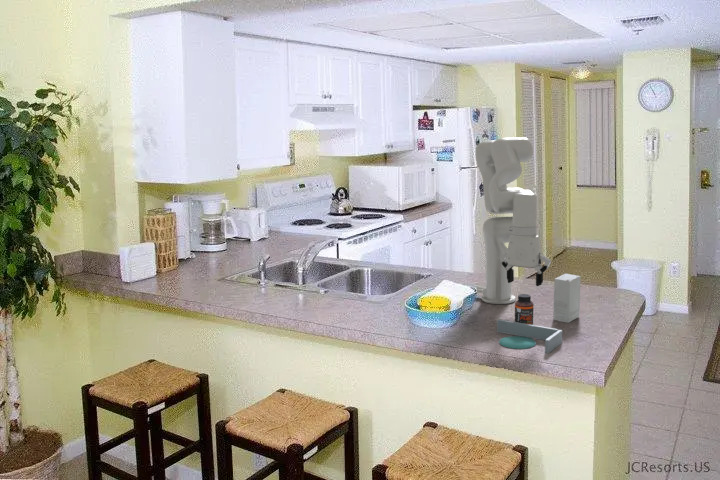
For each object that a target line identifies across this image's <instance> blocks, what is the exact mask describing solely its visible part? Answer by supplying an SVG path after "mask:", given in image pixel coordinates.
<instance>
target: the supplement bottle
mask: <svg viewBox="0 0 720 480" xmlns="http://www.w3.org/2000/svg"><path fill="white" fill-rule="evenodd" d="M531 299H532V298H531V295H530V294H528V293H520V294H518V295H517V301H516V300H515V301H514V302H515V303H514V322H518V323H524V324H530V325H534V302H533V301H532V300H531Z"/></svg>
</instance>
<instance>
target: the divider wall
mask: <svg viewBox="0 0 720 480" xmlns="http://www.w3.org/2000/svg"><path fill="white" fill-rule="evenodd" d="M496 332H497V333H501V334H508V335H512V336H521V337H527V338H531V339H535V340H542V341H544V353H545V354H550V353H551V352H552V351H553V350H555V349H556V348H558V346H560V345H561V344H562V343H563V329H558V328H555V327H549V326H541V325H535V324H533V325H530V324H524V323H518V322H515V321H510V320H505V319H497V320H496Z"/></svg>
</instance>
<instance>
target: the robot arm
mask: <svg viewBox="0 0 720 480" xmlns="http://www.w3.org/2000/svg"><path fill="white" fill-rule="evenodd" d="M533 155H534V147H533V143H532V141H531V140H530V139H529V138H528V137H524V136H521V137H520V136H518V137H502V138H498V139H494V140H493V139H492V140H491V139H490V140H485V141H481V142H479V143H477V145H476V148H475V159H476V165H477V167H478V170H479V172H480V175H481V178H482V186H483V197H484V206H485V209H486V212H488V214H494V215H506V214H508V215H509V214H512V216H495V217H493V216H492V217H489V218H488V219H486V220H485V221H484V223H483V225H482V232H483V239H484V248H485V287H483V286H476V293H479V294H482V295H481V301H482V302H484V303H487V304H491V305H492V304H493V305H508V304H512V303H514V302H516V298H517V297H516V296H515V295H513V294H512V283H513V282H514V281H515V278H514V277H515V275H514V274H515V270H514V267H516V268H526V269H527V268H528V269H534V270H535V271H536V273H535V286H536V287H540V286H541V285H542V284H543V283H544V273H545V271H546V270H548V269H549V267H550V265H551V263H552V260H551V259H550V258H549V257H548V256H547V257H546V255H543V254H542V247H541V239H540V236H539V234H538V196H537V194H536V193H534V192H533V191H532V190H530V189H524V188H522V187H508V186H507V185H508V184H510V183H513V182H514V181H517V179H518V178H520V176H521V175H522V172H523V168H522V165H521V163H525V162H526V163H527V162H529V161H530V160H531V159H532V157H533ZM506 244H508V246H506ZM542 262H544V265H543V266H542Z"/></svg>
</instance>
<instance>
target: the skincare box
mask: <svg viewBox="0 0 720 480" xmlns="http://www.w3.org/2000/svg"><path fill="white" fill-rule="evenodd" d="M581 279H582V278H581V275H577V274H570V273H563V274H562V275H560V276H557V277H555V278H554V285H553V287H554V288H553V318H552V319H553V320H554V321H558V322H564V323H568V324H569V323H571V322H572V321H574V320H576V319H578V318H579V317H580V309H581V308H580V301H581Z"/></svg>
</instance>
